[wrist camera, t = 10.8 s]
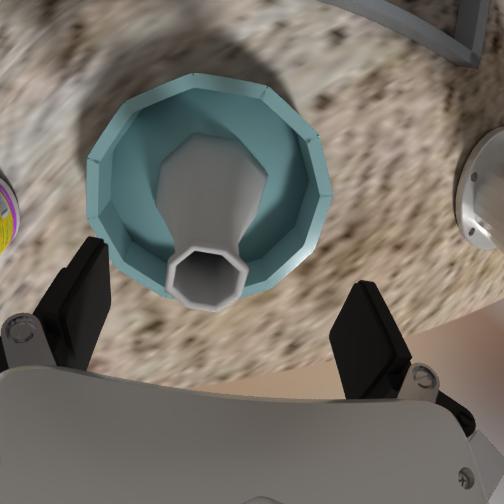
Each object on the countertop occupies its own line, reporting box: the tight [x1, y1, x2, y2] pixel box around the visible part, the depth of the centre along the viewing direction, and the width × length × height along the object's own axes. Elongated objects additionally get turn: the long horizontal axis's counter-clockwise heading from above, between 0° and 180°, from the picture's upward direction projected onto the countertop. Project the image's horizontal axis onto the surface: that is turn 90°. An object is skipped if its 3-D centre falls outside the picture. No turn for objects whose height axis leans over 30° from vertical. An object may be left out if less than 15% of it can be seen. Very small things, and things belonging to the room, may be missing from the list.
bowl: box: [86, 73, 333, 299], centre depth 20 cm, size 15×15×4 cm
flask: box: [155, 133, 268, 312], centre depth 16 cm, size 7×7×10 cm
